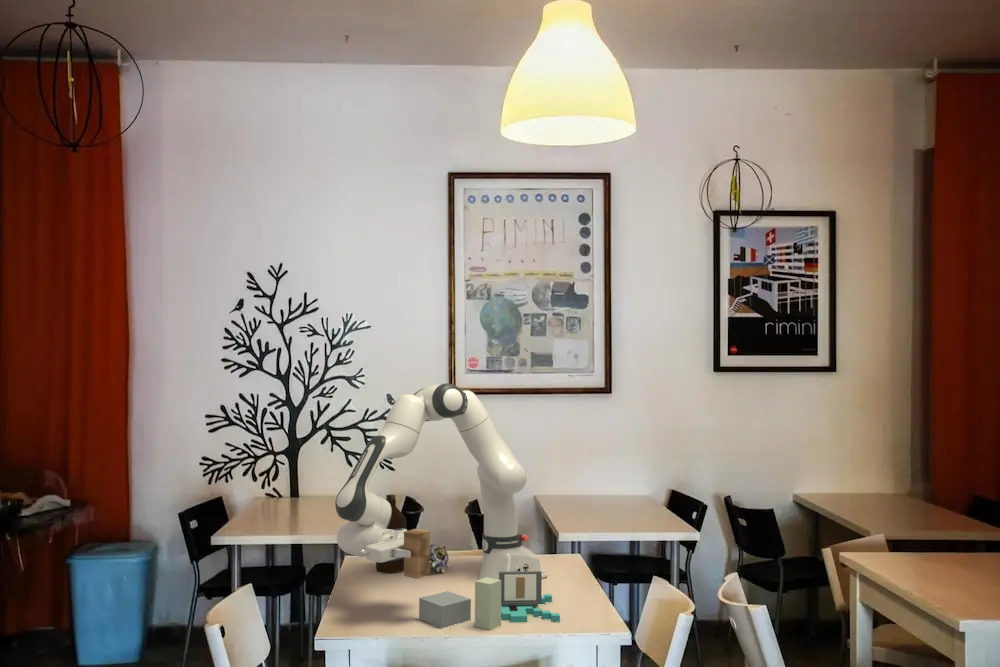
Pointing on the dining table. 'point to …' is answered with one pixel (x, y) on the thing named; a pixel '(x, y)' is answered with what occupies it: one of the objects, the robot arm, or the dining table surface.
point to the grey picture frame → (520, 588)
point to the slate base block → (444, 609)
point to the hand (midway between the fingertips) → (419, 551)
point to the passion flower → (438, 557)
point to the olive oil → (395, 523)
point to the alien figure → (528, 611)
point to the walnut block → (417, 553)
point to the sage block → (487, 603)
